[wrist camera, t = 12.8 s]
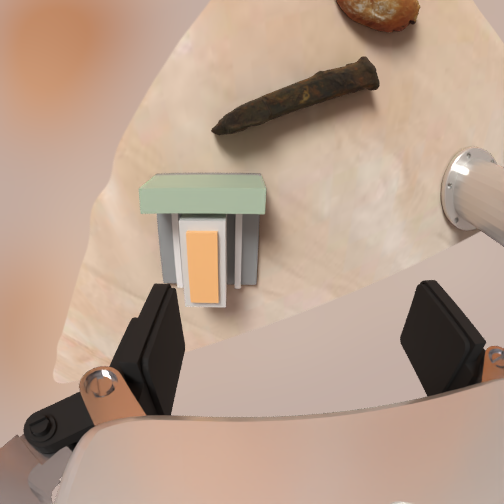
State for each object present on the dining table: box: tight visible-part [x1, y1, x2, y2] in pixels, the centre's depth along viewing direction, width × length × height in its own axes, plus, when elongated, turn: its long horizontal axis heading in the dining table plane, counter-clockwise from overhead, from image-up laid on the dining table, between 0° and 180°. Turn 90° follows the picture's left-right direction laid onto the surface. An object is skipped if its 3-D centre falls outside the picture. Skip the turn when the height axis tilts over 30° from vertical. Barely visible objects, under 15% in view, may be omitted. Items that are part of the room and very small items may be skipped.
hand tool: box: [211, 57, 379, 135], centre depth 28 cm, size 19×4×5 cm, turn 111°
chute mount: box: [139, 173, 266, 289], centre depth 34 cm, size 12×14×7 cm
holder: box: [179, 213, 227, 307], centre depth 34 cm, size 4×10×7 cm, turn 178°
